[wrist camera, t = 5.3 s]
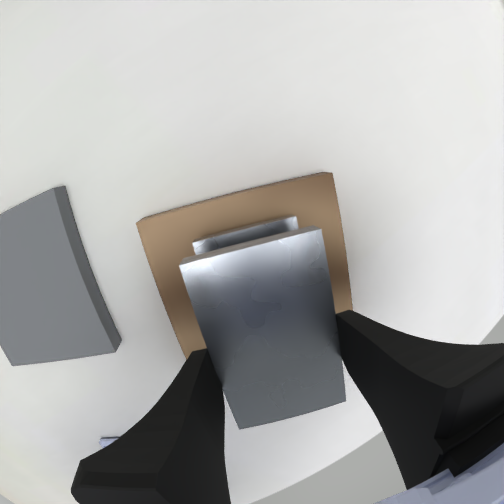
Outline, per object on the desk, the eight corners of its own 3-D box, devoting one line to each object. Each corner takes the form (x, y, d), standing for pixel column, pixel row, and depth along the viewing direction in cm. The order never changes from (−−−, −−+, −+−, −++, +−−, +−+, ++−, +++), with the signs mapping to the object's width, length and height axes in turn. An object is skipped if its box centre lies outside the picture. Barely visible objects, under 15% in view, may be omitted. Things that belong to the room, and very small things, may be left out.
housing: (318, 348, 17) (346, 401, 12) (235, 370, 17) (239, 429, 12) (291, 214, 15) (321, 228, 10) (194, 239, 15) (179, 265, 10)
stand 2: (347, 328, 21) (355, 339, 19) (197, 368, 20) (196, 381, 19) (323, 172, 17) (332, 172, 16) (142, 218, 17) (135, 223, 16)
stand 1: (121, 340, 19) (115, 352, 18) (20, 356, 19) (12, 366, 17) (64, 185, 16) (53, 188, 14) (-32, 235, 16) (-43, 239, 14)
